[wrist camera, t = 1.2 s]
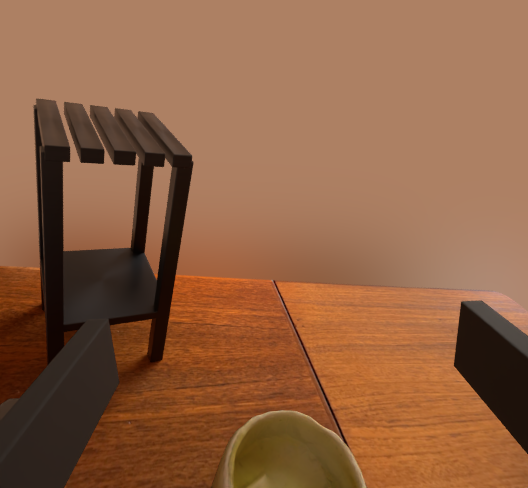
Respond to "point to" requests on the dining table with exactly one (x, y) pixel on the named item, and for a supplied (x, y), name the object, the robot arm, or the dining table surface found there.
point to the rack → (107, 260)
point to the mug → (287, 455)
